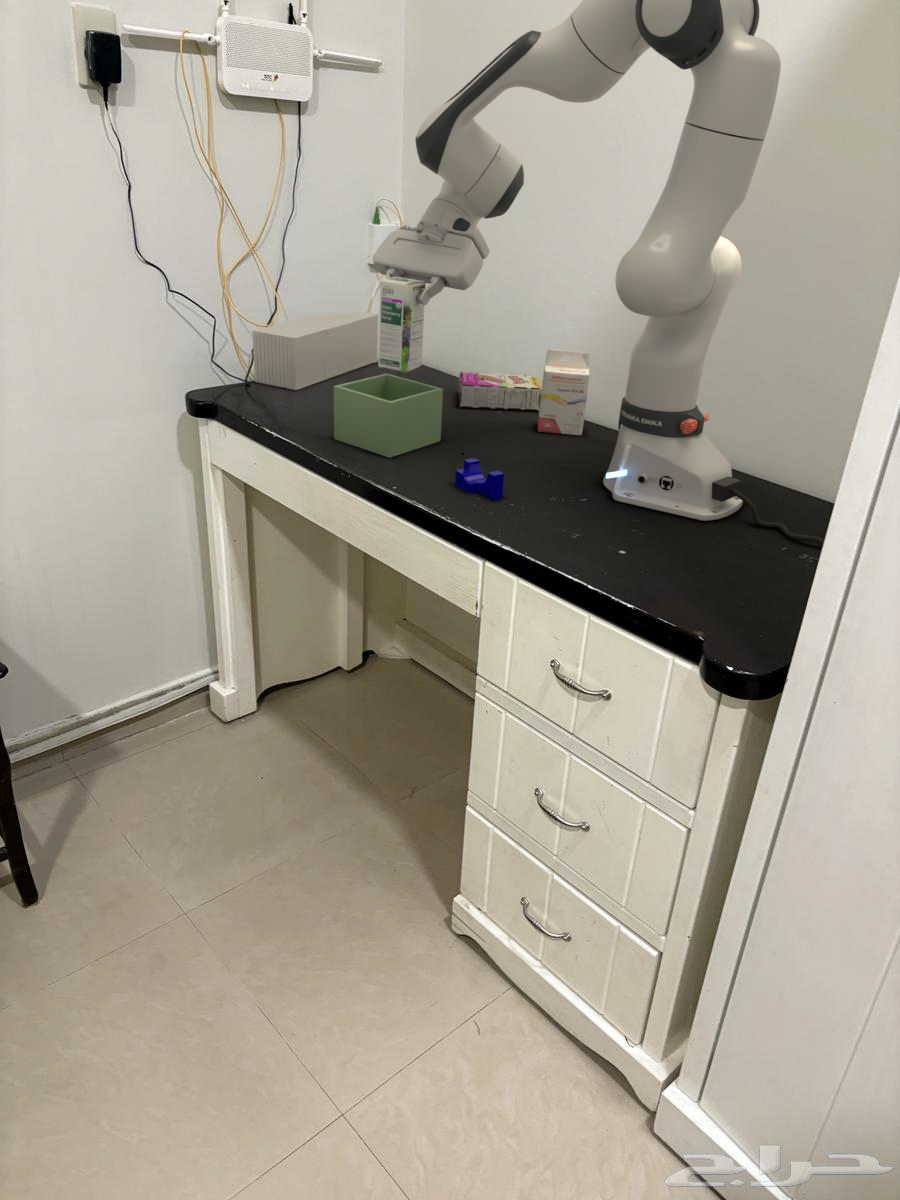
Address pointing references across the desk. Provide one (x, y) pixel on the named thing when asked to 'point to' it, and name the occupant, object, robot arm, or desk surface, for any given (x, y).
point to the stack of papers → (314, 348)
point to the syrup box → (400, 324)
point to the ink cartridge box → (564, 392)
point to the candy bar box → (499, 391)
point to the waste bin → (387, 414)
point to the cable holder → (479, 480)
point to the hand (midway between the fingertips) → (403, 298)
